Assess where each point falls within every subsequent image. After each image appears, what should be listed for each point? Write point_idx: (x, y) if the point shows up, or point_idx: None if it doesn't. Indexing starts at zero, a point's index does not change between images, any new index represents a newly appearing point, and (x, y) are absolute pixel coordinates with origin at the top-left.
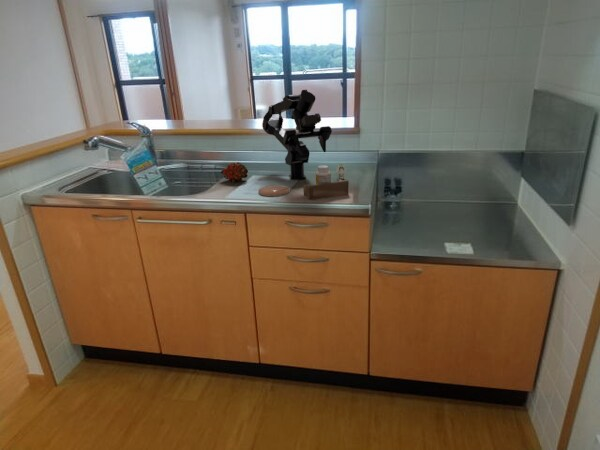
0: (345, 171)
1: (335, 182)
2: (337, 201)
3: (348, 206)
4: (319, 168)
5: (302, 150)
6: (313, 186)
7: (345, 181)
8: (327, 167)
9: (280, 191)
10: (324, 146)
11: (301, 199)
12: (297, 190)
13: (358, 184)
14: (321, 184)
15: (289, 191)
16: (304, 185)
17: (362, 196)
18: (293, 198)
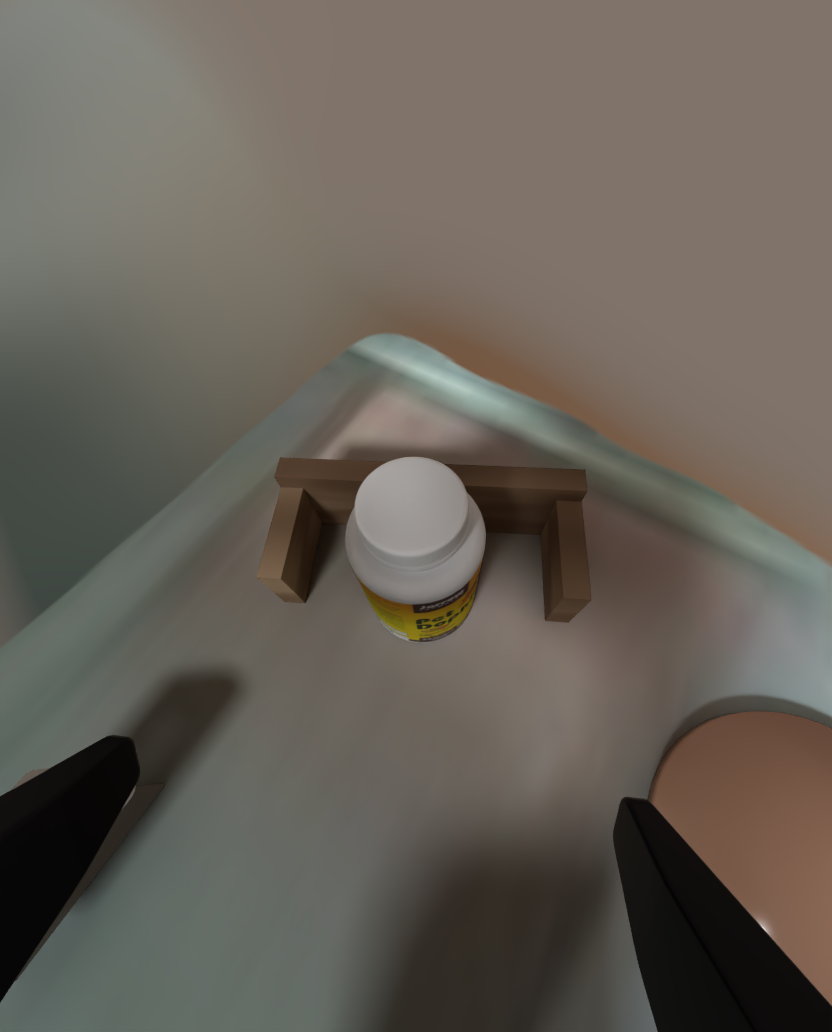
0: (39, 769)
1: (377, 464)
2: (433, 432)
3: (427, 362)
4: (464, 491)
5: (663, 864)
6: (554, 470)
7: (302, 460)
8: (389, 462)
9: (753, 777)
10: (19, 809)
11: (609, 552)
12: (575, 777)
13: (108, 641)
14: (487, 471)
15: (655, 776)
16: (587, 580)
17: (280, 437)
18: (657, 597)
